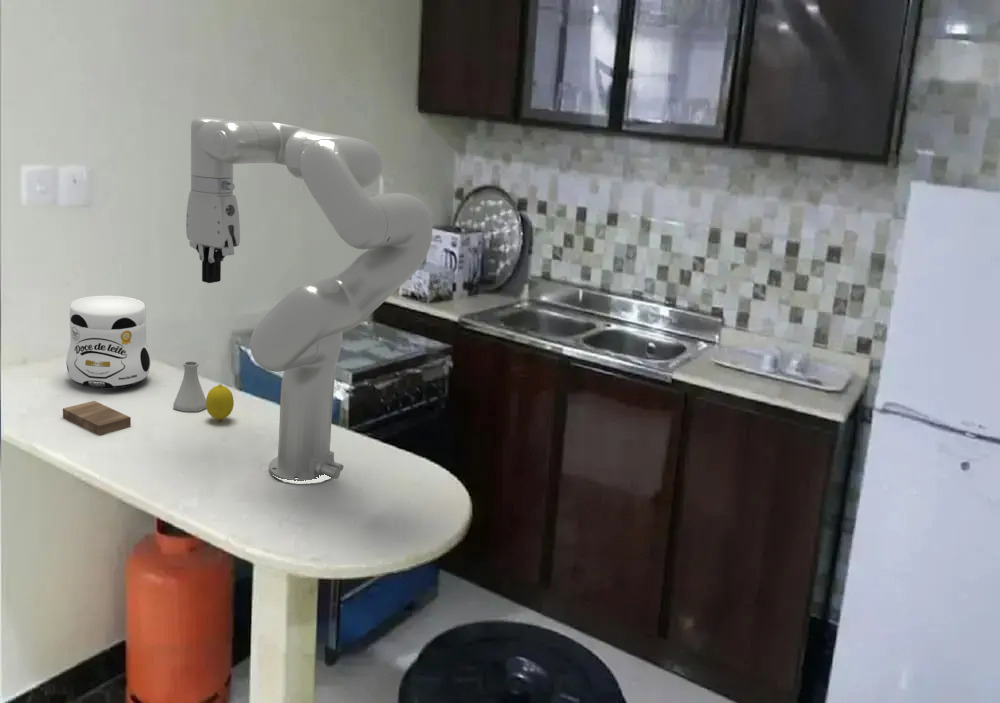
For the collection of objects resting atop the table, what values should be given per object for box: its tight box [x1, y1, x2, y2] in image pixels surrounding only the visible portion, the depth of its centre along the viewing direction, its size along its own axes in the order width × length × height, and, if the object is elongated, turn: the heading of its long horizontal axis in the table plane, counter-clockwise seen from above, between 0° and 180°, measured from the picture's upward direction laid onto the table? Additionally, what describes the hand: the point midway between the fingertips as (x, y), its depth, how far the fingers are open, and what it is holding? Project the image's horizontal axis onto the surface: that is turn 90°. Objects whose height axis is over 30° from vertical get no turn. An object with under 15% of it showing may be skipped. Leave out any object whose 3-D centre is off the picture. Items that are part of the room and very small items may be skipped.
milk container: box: [65, 294, 151, 390], centre depth 206 cm, size 17×17×18 cm
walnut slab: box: [62, 400, 132, 437], centre depth 187 cm, size 2×7×12 cm
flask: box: [172, 360, 207, 412], centre depth 199 cm, size 7×7×10 cm
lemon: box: [205, 384, 235, 422], centre depth 193 cm, size 6×6×8 cm
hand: (211, 281), depth 178 cm, fingers closed
